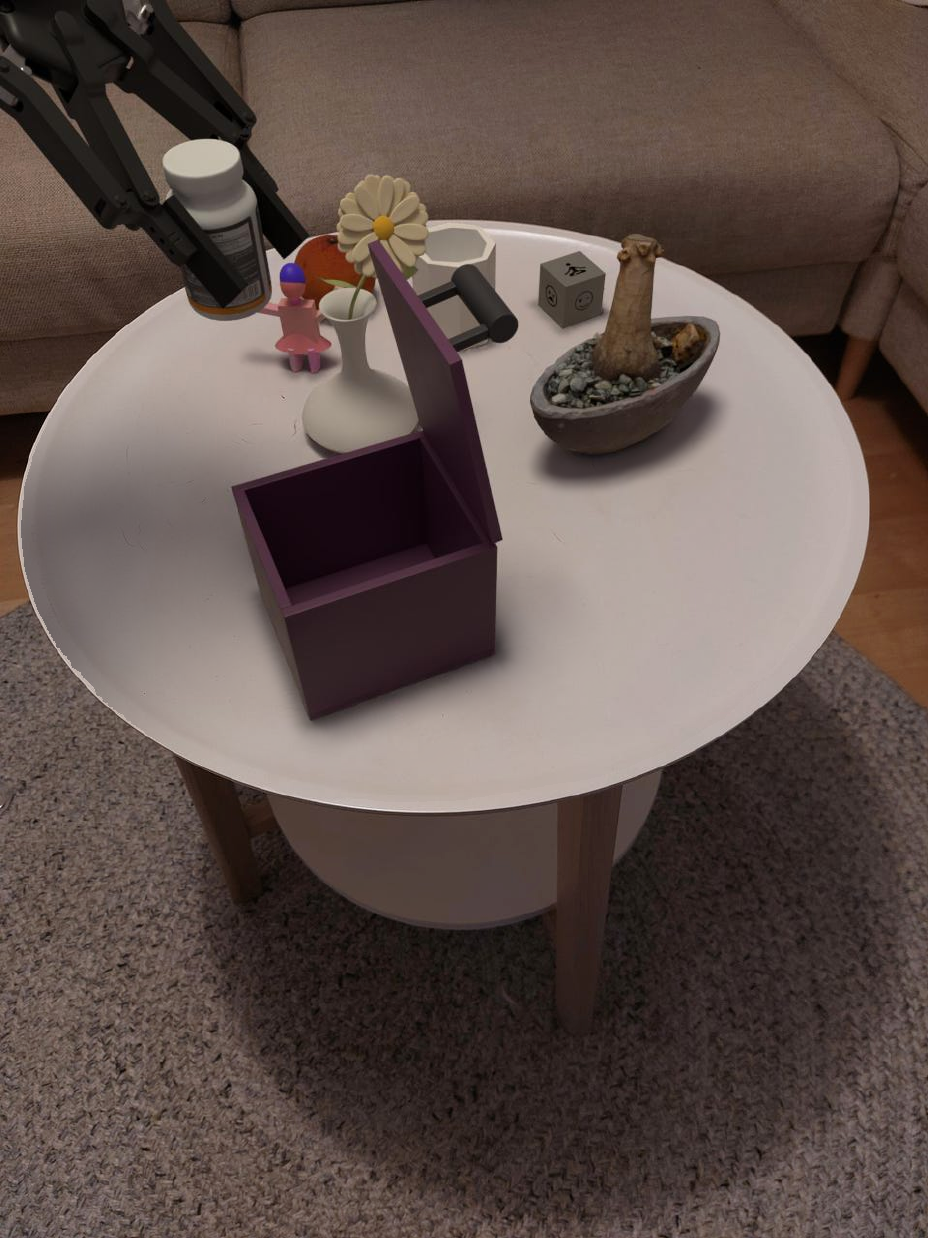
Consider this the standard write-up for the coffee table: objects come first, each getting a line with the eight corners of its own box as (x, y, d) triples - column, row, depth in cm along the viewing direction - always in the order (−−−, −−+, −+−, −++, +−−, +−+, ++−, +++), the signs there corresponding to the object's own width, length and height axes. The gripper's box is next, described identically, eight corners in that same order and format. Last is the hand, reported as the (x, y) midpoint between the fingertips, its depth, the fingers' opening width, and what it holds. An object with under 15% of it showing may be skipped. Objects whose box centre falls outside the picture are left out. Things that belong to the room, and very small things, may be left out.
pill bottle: (203, 274, 69) (169, 131, 61) (283, 279, 68) (259, 136, 60) (178, 321, 65) (139, 176, 57) (262, 328, 65) (233, 182, 57)
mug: (499, 348, 103) (500, 264, 96) (418, 354, 103) (413, 270, 95) (486, 283, 111) (486, 200, 103) (410, 288, 110) (405, 206, 102)
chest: (310, 720, 75) (284, 617, 65) (261, 595, 83) (230, 486, 73) (495, 654, 79) (497, 546, 68) (431, 540, 86) (425, 428, 76)
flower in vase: (307, 472, 92) (260, 223, 72) (301, 395, 99) (257, 149, 79) (444, 457, 93) (435, 207, 73) (429, 381, 100) (417, 135, 80)
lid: (449, 364, 55) (541, 323, 55) (366, 243, 63) (448, 208, 63) (492, 544, 68) (566, 510, 69) (420, 426, 76) (487, 396, 76)
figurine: (243, 351, 104) (221, 255, 95) (355, 353, 103) (343, 257, 94) (236, 371, 101) (213, 275, 93) (351, 374, 101) (339, 277, 92)
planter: (707, 395, 98) (751, 205, 82) (678, 509, 88) (722, 319, 73) (564, 368, 101) (579, 180, 85) (520, 476, 91) (529, 286, 75)
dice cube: (562, 328, 105) (565, 287, 101) (538, 304, 108) (540, 263, 104) (601, 314, 107) (605, 273, 103) (576, 291, 109) (579, 250, 106)
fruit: (389, 316, 107) (384, 249, 101) (311, 334, 105) (300, 267, 99) (366, 273, 112) (359, 207, 106) (291, 289, 110) (279, 223, 104)
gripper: (84, -73, 63) (322, 230, 71) (-160, 32, 53) (148, 372, 61) (122, -164, 57) (378, 177, 65) (-143, -65, 47) (195, 324, 55)
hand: (266, 270), depth 63 cm, fingers closed on pill bottle, 6 cm apart
